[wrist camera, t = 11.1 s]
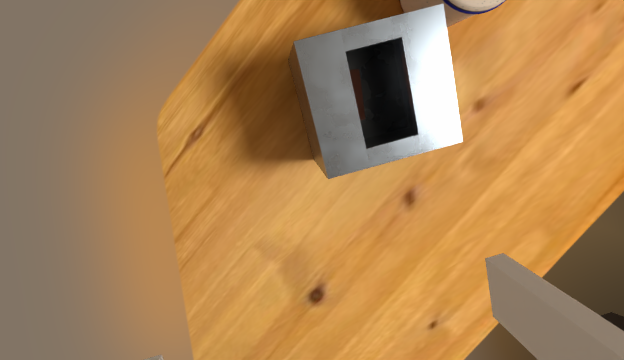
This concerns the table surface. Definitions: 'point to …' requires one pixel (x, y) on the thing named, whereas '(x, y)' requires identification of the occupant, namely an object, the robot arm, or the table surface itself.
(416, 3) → the teacup with lid
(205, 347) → the table surface
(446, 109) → the grey hollow block
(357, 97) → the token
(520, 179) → the table surface
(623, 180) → the table surface
